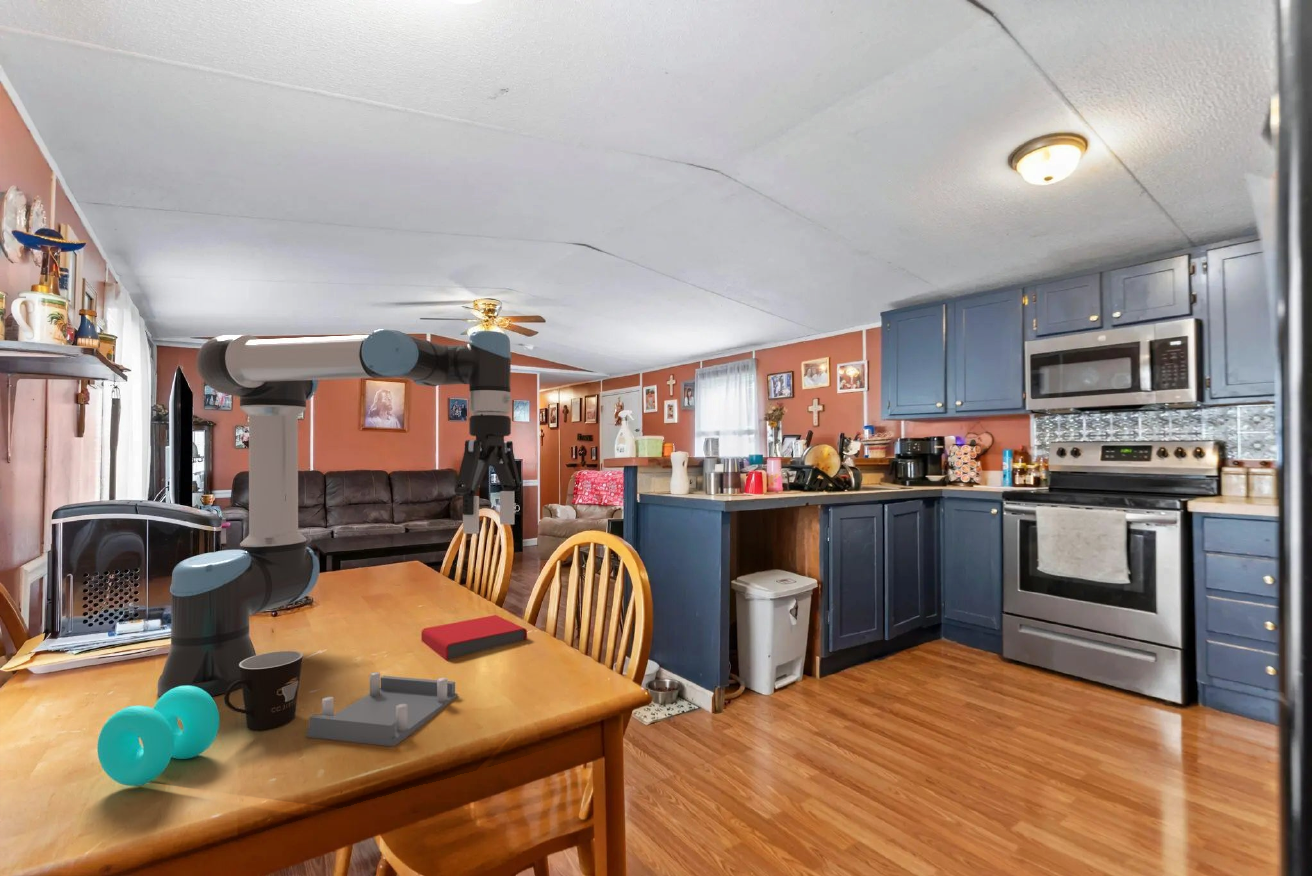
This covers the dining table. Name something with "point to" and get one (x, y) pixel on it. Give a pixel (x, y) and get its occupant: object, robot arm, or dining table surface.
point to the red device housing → (471, 636)
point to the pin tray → (383, 711)
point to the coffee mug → (268, 689)
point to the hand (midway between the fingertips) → (490, 528)
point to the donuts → (157, 735)
